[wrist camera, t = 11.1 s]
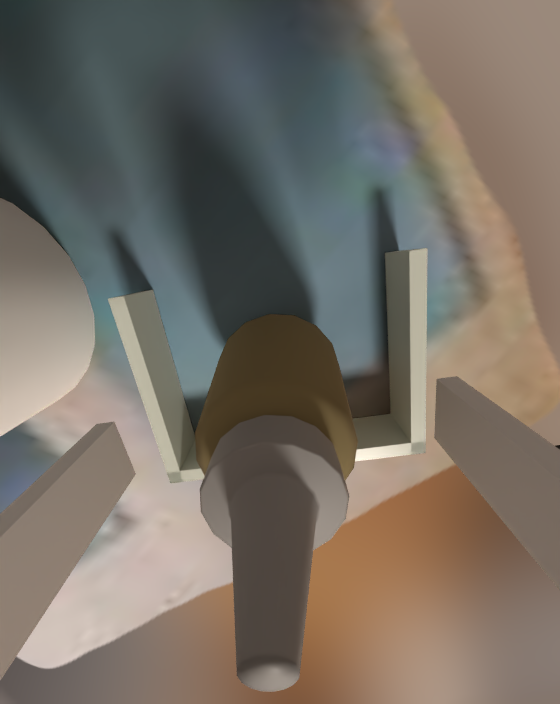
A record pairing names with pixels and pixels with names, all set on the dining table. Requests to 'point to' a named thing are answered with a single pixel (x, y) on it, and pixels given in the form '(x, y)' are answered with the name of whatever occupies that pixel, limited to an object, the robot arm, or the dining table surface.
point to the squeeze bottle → (274, 481)
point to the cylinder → (38, 319)
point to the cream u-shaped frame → (372, 432)
